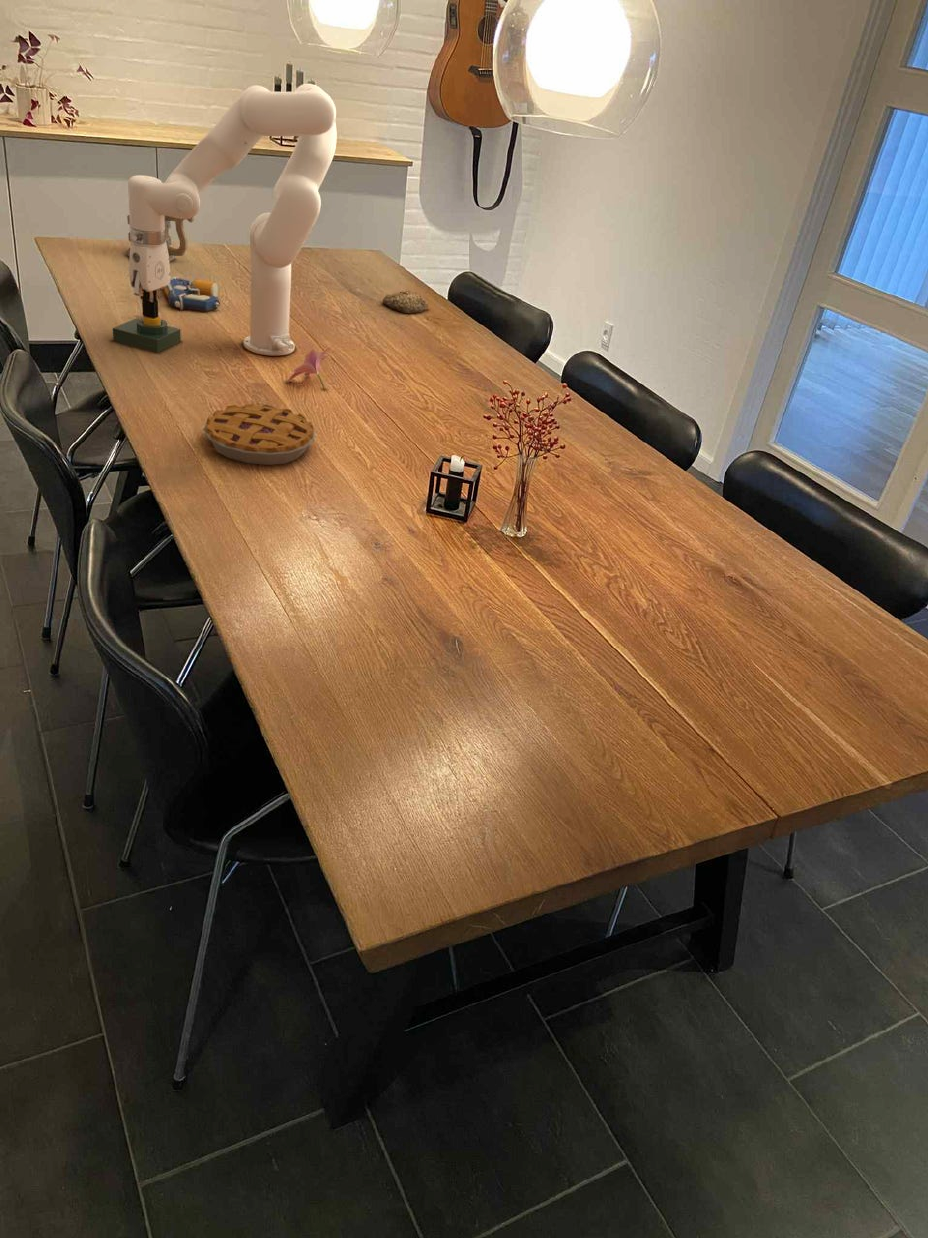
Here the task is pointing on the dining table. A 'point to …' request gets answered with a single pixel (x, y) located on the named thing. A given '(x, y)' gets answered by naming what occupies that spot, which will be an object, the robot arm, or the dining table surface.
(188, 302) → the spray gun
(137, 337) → the button block
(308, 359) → the lily
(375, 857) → the dining table surface
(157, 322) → the yellow push button
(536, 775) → the dining table surface
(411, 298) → the bread roll
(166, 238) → the tankard
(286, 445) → the pie
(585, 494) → the dining table surface
